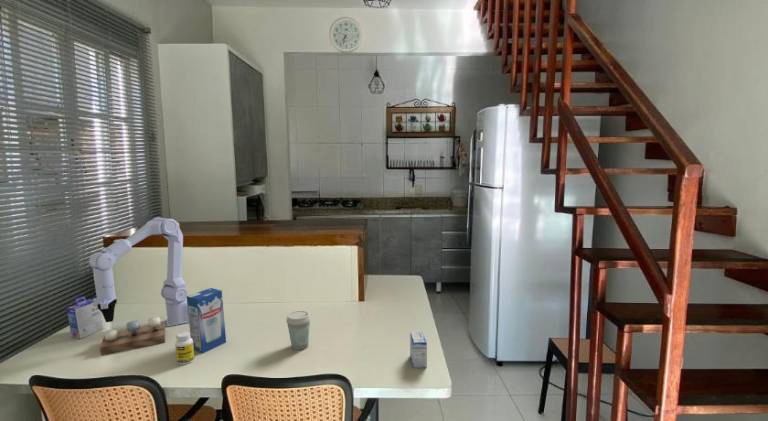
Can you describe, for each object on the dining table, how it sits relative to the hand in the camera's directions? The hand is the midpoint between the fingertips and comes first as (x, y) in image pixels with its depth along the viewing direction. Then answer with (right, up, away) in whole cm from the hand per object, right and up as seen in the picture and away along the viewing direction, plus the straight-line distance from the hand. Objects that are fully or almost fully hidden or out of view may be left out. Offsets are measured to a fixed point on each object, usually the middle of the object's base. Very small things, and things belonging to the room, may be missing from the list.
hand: (109, 321), depth 152 cm
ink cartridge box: (-18, -9, +14) cm, 24 cm away
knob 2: (+13, -5, +7) cm, 15 cm away
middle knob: (+6, -6, +4) cm, 10 cm away
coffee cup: (+70, -9, -2) cm, 70 cm away
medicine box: (+111, -10, -14) cm, 112 cm away
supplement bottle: (+32, -11, -10) cm, 36 cm away
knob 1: (0, -8, +1) cm, 9 cm away
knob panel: (+6, -9, +5) cm, 12 cm away
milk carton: (+36, -9, +1) cm, 37 cm away
